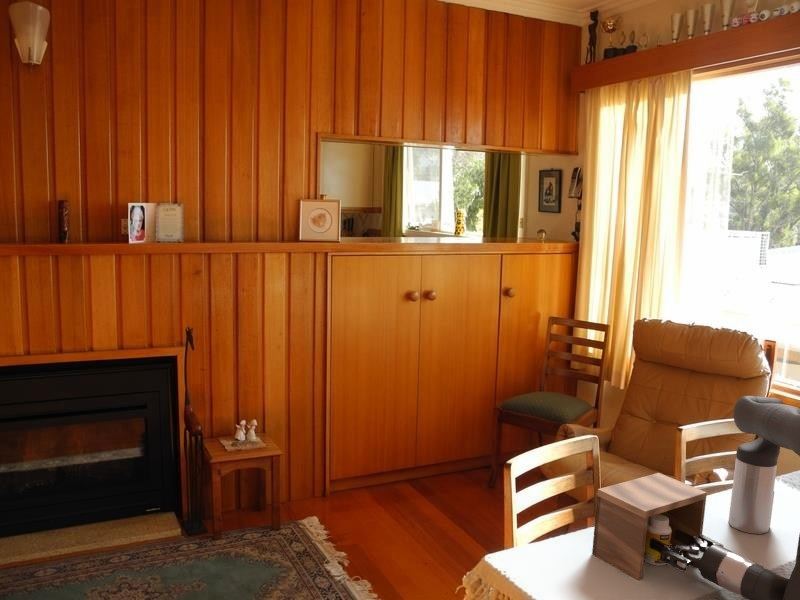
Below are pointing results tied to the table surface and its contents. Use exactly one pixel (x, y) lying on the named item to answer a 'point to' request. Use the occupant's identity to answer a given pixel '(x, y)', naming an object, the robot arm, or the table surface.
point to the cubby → (643, 517)
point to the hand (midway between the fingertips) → (663, 538)
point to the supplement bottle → (657, 537)
